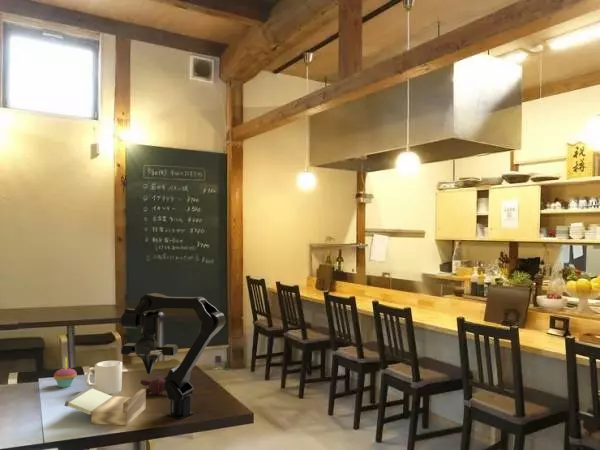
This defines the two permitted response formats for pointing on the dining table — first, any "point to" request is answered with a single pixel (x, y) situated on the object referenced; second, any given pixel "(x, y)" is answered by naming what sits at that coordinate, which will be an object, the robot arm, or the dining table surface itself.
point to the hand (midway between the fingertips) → (149, 373)
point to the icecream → (154, 386)
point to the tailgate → (87, 400)
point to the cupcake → (65, 376)
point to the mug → (106, 377)
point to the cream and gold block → (119, 409)
